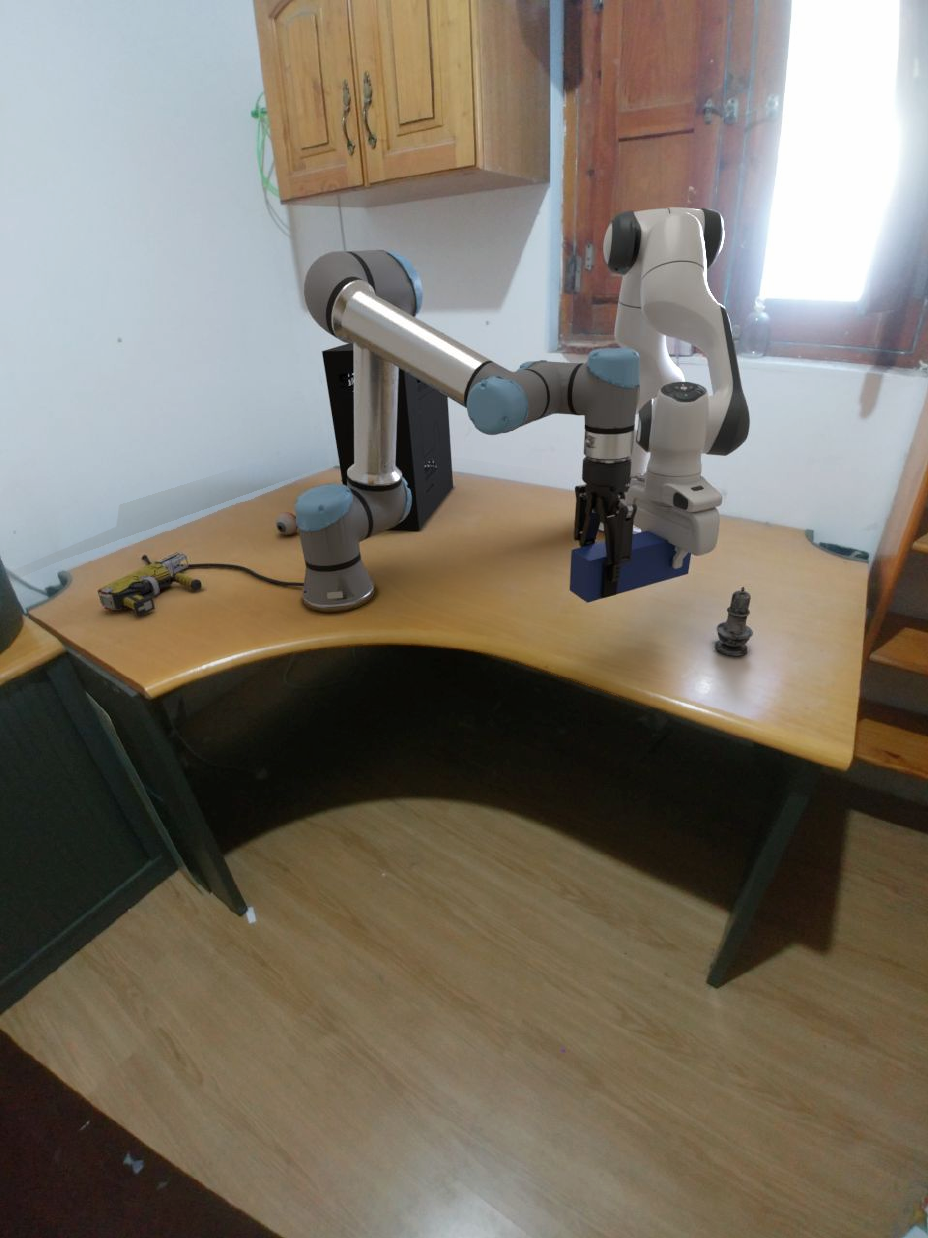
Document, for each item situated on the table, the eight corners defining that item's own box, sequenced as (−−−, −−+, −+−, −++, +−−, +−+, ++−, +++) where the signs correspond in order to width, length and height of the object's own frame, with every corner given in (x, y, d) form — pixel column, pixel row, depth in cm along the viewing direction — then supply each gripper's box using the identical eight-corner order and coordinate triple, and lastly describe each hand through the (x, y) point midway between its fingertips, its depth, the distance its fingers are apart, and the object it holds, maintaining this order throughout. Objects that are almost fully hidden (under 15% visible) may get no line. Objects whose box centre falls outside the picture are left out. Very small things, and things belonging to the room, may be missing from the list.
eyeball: (273, 537, 164) (268, 516, 161) (287, 528, 169) (282, 508, 166) (291, 539, 161) (286, 518, 158) (305, 530, 166) (301, 510, 163)
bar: (668, 563, 114) (673, 524, 110) (688, 573, 110) (694, 533, 106) (569, 590, 107) (571, 549, 103) (587, 603, 103) (589, 560, 99)
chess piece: (752, 657, 103) (766, 595, 97) (715, 655, 104) (727, 594, 98) (745, 639, 108) (758, 579, 102) (711, 637, 109) (721, 578, 103)
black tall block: (419, 530, 162) (402, 348, 140) (349, 527, 167) (321, 351, 144) (453, 486, 194) (443, 332, 171) (393, 485, 198) (376, 334, 176)
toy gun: (225, 560, 144) (174, 549, 148) (148, 603, 124) (91, 589, 127) (228, 578, 146) (177, 567, 150) (152, 623, 126) (96, 609, 130)
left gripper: (555, 447, 100) (551, 573, 112) (624, 475, 86) (612, 616, 97) (592, 441, 103) (585, 564, 115) (666, 466, 88) (649, 605, 100)
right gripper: (618, 473, 110) (612, 544, 117) (700, 506, 93) (688, 585, 100) (646, 468, 112) (639, 537, 119) (731, 498, 96) (717, 577, 103)
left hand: (598, 588), depth 106 cm, fingers closed on bar, 5 cm apart
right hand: (662, 560), depth 109 cm, fingers closed on bar, 5 cm apart
